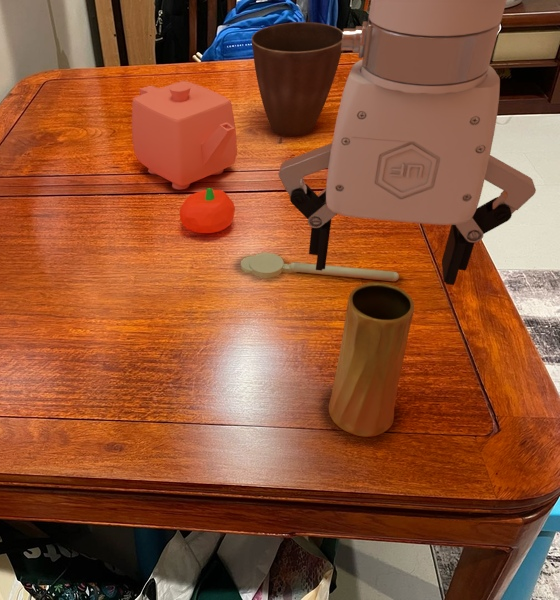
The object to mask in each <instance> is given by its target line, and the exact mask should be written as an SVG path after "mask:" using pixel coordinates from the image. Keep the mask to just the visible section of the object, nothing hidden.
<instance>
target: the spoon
mask: <svg viewBox="0 0 560 600" xmlns="http://www.w3.org/2000/svg"><path fill="white" fill-rule="evenodd" d="M240 269H241V270H242V271H243V272H245V273H247V274H252V275H253V276H256V277H258V278H264V279H269V278H275V277H277V276H279V275H281V274H282V273H284V272H286V273H294V274H297V273H304V274H315V275H325V276H332V277H333V276H334V277H345V278H354V279H365V280H373V281H374V280H375V281H386V282H397V281H398V280H399V278H400V273H398V272H397V271H390V270H381V269H372V268H371V269H370V268H359V267H351V266H350V267H349V266H341V265H340V266H339V265H329V264H326V265H325V269H322V271H320V270H316V263H309V262H308V263H307V262H297V261H292V262H290V263H285V262H284V259H283V258H282V257H281V256H280V255H278V254H276V253H273V252H260V253H256V254H254V255H249V256H245V257H244V258H242V259H241V261H240Z"/></svg>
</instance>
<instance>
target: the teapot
mask: <svg viewBox="0 0 560 600" xmlns="http://www.w3.org/2000/svg"><path fill="white" fill-rule="evenodd" d="M138 92H139V95H137V96H135V97H133V98H132V103H131V104H132V107H131V110H132V111H131V138H132V139H131V140H132V148H133V151H134V156H135V157H136V159H137V161H138V162H139V163H141V164H142V165H143V166H145V168H147V169H148V170H147V172H148V173H149V174H151V175H158V176H159V177H161V178H163V179H165V180H167V181H168V182H171V184H172V185H171V187H172V188H173V189H174V190H185V189H188V188H189V187H190V186H191V184H192V183H195V182H197V181H199V180H202V179H204V178H206V177H210V176H211V175H213V176H217V175H220V174H222V173H224V169H225V170H226V169H227V168H229V167H231V166H233V165H234V164H235V163H236V159H237V155H238V142H237V130H236V121H235V116H234V110H233V105H232V101H231V99H229V98H227V97H226V96H224V95H222V94H221V93H218V92H217V91H214V90H211V89H209V88H207V87H205V86H202V85H199V84H196V83H195V82H190V81H187V80H180V81H177V82H174V83H171V84H167V85H165V86H161V87H160V88H159V87H157V86H154V85H151V84H150V85H146V86H143V87H141V88H139V91H138Z"/></svg>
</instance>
